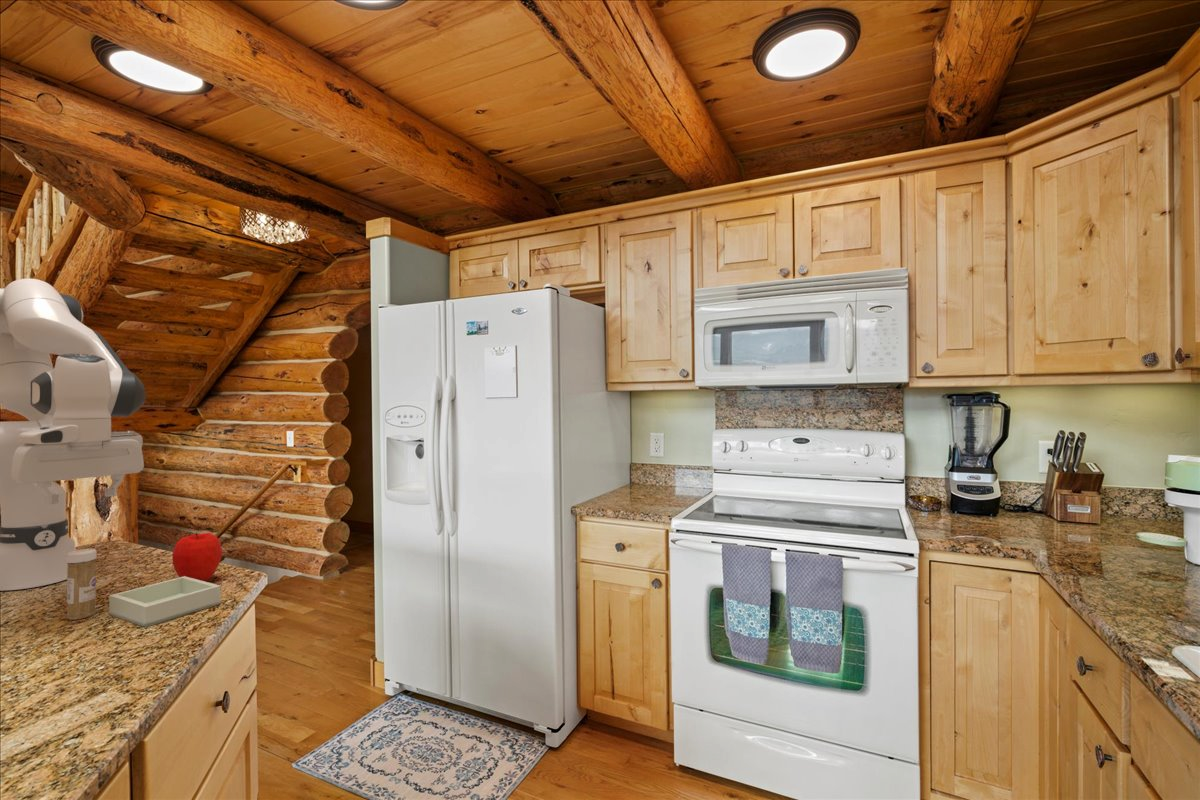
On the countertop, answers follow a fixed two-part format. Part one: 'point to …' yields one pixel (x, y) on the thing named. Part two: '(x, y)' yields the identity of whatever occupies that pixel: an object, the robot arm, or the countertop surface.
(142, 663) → the countertop surface
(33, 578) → the robot arm
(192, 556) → the apple
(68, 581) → the sprinkles bottle
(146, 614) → the bin
